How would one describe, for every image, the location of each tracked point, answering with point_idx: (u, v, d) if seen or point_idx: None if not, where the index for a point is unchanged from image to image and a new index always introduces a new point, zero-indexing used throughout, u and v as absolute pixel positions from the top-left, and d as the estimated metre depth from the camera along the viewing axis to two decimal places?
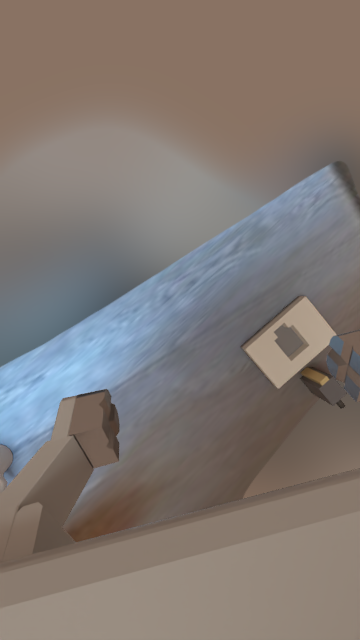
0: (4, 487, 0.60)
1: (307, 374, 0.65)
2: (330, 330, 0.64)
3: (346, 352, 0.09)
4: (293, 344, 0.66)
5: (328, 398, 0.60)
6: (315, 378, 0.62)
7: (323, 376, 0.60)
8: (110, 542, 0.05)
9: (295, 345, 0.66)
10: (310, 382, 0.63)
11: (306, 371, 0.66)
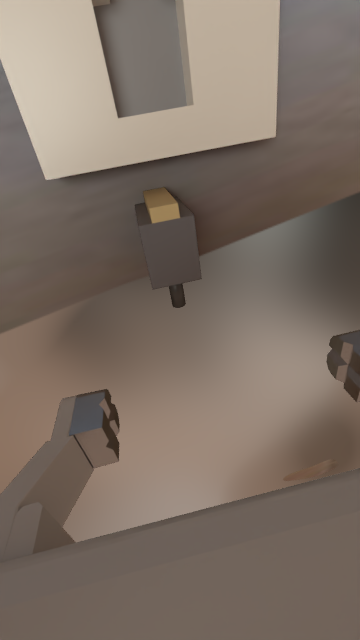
0: None
1: (148, 195, 0.24)
2: (270, 102, 0.21)
3: (346, 352, 0.09)
4: (158, 88, 0.21)
5: (151, 266, 0.21)
6: (151, 202, 0.21)
7: (170, 202, 0.20)
8: (110, 542, 0.05)
9: (162, 95, 0.22)
10: (140, 213, 0.23)
11: (153, 191, 0.25)
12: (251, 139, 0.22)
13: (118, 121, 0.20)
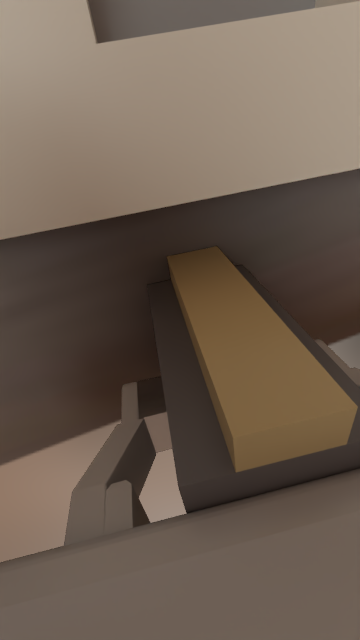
0: None
1: (188, 283, 0.09)
2: None
3: None
4: None
5: None
6: (218, 349, 0.06)
7: (311, 383, 0.05)
8: (110, 542, 0.05)
9: None
10: (169, 345, 0.08)
11: (196, 265, 0.10)
12: None
13: (99, 57, 0.05)
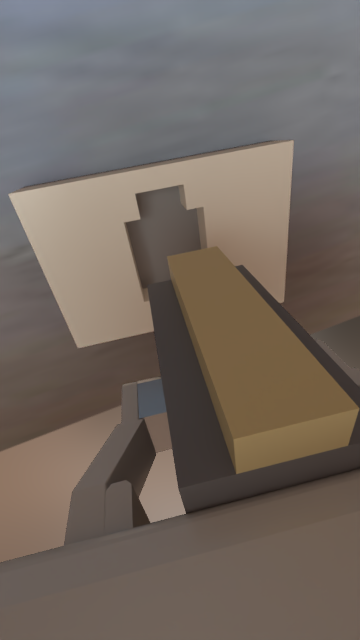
0: None
1: (188, 283, 0.09)
2: (279, 279, 0.23)
3: None
4: None
5: None
6: (218, 350, 0.06)
7: (312, 384, 0.05)
8: (110, 542, 0.05)
9: None
10: (169, 346, 0.08)
11: (196, 265, 0.10)
12: None
13: (144, 304, 0.22)
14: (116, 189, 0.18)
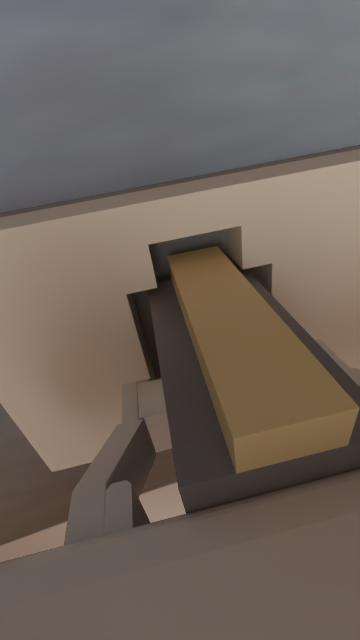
0: None
1: (188, 282, 0.09)
2: None
3: None
4: None
5: None
6: (218, 349, 0.06)
7: (312, 384, 0.05)
8: (110, 542, 0.05)
9: None
10: (169, 345, 0.08)
11: (196, 264, 0.10)
12: None
13: None
14: (112, 237, 0.09)
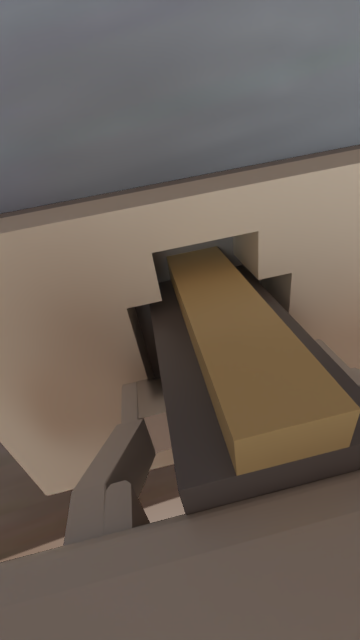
0: None
1: (188, 283, 0.09)
2: None
3: None
4: None
5: None
6: (218, 350, 0.06)
7: (313, 385, 0.05)
8: (110, 542, 0.05)
9: None
10: (169, 346, 0.08)
11: (196, 265, 0.10)
12: None
13: None
14: (110, 245, 0.08)
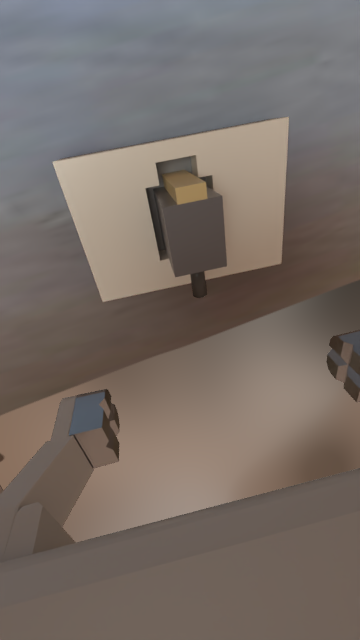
0: None
1: (169, 176, 0.22)
2: (277, 242, 0.27)
3: (346, 352, 0.09)
4: None
5: (174, 252, 0.20)
6: (175, 182, 0.19)
7: (197, 182, 0.18)
8: (110, 542, 0.05)
9: None
10: (161, 196, 0.21)
11: (174, 173, 0.23)
12: (262, 266, 0.28)
13: (160, 262, 0.26)
14: (140, 158, 0.21)
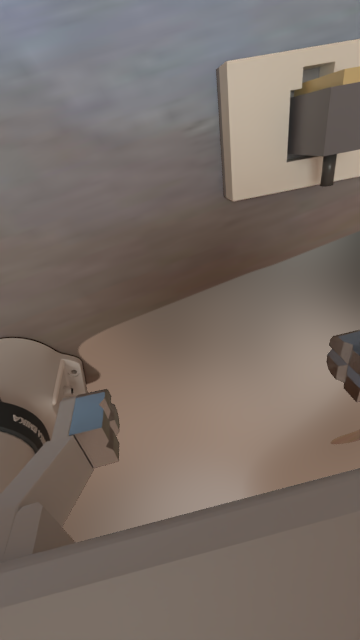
0: None
1: (311, 80, 0.27)
2: None
3: (346, 352, 0.09)
4: None
5: (329, 131, 0.25)
6: (333, 73, 0.24)
7: (358, 67, 0.23)
8: (110, 542, 0.05)
9: None
10: (309, 92, 0.26)
11: None
12: None
13: (286, 164, 0.31)
14: (292, 62, 0.26)
